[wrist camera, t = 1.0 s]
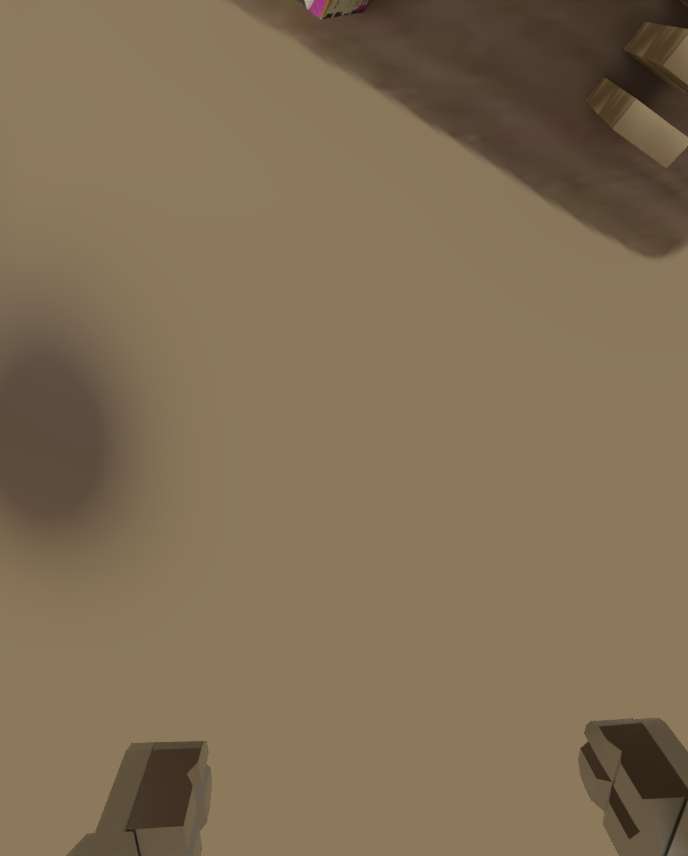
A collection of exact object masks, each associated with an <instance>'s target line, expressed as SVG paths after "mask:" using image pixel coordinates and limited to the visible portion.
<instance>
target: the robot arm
mask: <svg viewBox="0 0 688 856" xmlns="http://www.w3.org/2000/svg"><path fill="white" fill-rule="evenodd" d="M584 734H585V736H586V738H587V739H588V742H587V743H586V744H585V745H584V746H583V747H581V748H580V754H579V759H578V761H579V768H580V775H581V778H582V781H583V784H584V787H585V789H586V790H587V793H588V795H589V797H590V799H591V800H592V801H593V802H594V803H595V804H596V805H598V806H599V807H600V808H601V809H602V810H604V818H603V825H604V827H605V829H606V831H607V833H608V835H609V837H610V838H611V840H612V842H613V844H614V846H615V848H616V850H617V852H618V854H619V856H688V752H687V750H686V749H685V748H684V746H683V745H682V744H681V742H680V741H679V740H678V739H677V737H676V736H675V734H674V733H673V732H672V730H671V729H670V728H669V727H668V725H667V724H666V723H665V722H664V721H663V720H661V719H660V718H646V719H619V720H604V721H591V722H589V723H588V724H587V725H586V729H585V732H584ZM207 757H208V746H207V741H192V742H191V741H189V742H150V743H131V745H130V746H129V748H128V749H127V751H126V752H125V755H124V758H123V760H122V763H121V765H120V768H119V770H118V773H117V776H116V779H115V781H114V784H113V787H112V789H111V792H110V794H109V797H108V800H107V802H106V805H105V807H104V810H103V813H102V815H101V818H100V821H99V823H98V826H97V829H96V831H95V833H91V834H86V835H85V836H84V837H83V838H82V840H81V841H80V842H79V843H78V844H77V845H76V846H75V847H74V848H73V849H72V850H71V851H70V852H69V853H68V854H67V855H66V856H201V850H202V845H201V838H200V830H201V829H202V828H203V826H204V825H205V824H206V822H207V818H208V813H209V807H210V798H211V768H210V767H209V766H208V765H207V764H206V762H207Z"/></svg>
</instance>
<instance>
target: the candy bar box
mask: <svg viewBox="0 0 688 856" xmlns="http://www.w3.org/2000/svg"><path fill="white" fill-rule="evenodd" d="M297 1H298V2H300V3H301V4H302V5H303V6H304V7H305V8H306V9H308V10H309V11H310V12H312V13H313V14H314V15H315V16H317V17H318V18H319V19H320V20H321V19H325V18H331V17H337V16H343V15H349V14H355V13H362V12H364V10H365V8H366V6H367V4H368V2H369V0H297Z"/></svg>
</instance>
